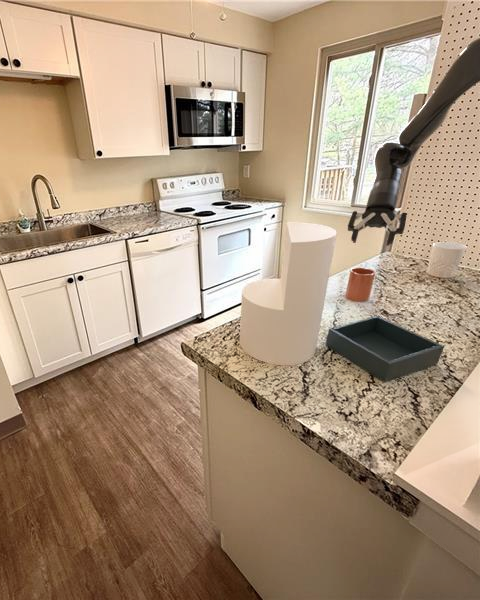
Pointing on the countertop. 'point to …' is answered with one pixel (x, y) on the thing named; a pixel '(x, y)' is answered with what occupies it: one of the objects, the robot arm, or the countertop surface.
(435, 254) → the white cup
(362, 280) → the tumbler
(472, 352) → the countertop surface
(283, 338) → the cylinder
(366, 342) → the tub
